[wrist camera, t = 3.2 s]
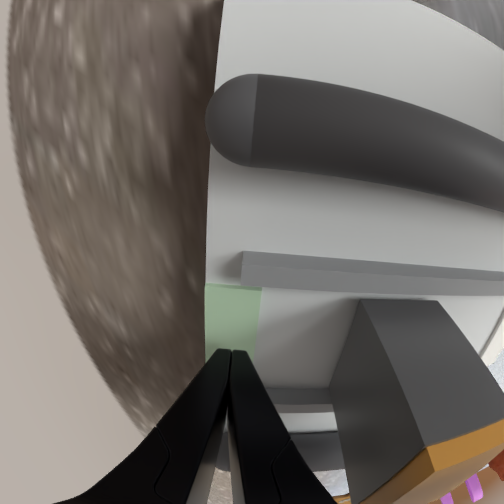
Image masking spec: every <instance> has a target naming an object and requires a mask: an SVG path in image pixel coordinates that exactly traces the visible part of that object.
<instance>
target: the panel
mask: <svg viewBox="0 0 504 504" xmlns="http://www.w3.org/2000/svg"><path fill="white" fill-rule="evenodd" d="M205 127H206V133H207V135H208V138H209V140H210V142H211V145H210V162H209V181H208V205H207V236H206V283H205V363H206V362H207V361H208V360H209V358H210V357H211V356H212V354H213V353H214V352H215V351H216V349H218V348H225V349H231V351H232V350H234V349H236V350H245V351H247V353H248V355H249V357H250V359H251V361H252V363H253V365H254V367H255V369H256V371H257V373H258V375H259V377H260V379H261V381H262V383H263V385H264V387H265V389H266V391H267V392H268V394H269V396H270V398H271V400H272V402H273V404H274V406H275V408H276V410H277V412H278V414H279V416H280V417H281V419H282V421H283V423H284V425H285V427H286V429H287V431H288V432H289V434H290V436H291V440H293V441H294V443H295V445H296V447H297V449H298V450H299V452H300V454H301V455H302V457H303V459H304V460H305V462H306V463H307V465H308V466H309V468H310V469H311V471H312V472H317V471H329V470H338V469H345V465H344V460H343V454H342V449H341V444H340V439H339V434H338V429H337V424H336V419H335V415H334V410H333V405H332V401H331V396H330V391H329V387H328V386H329V383H330V381H331V378H332V376H333V373H334V371H335V368H336V366H337V363H338V361H339V358H340V355H341V353H342V350H343V347H344V344H345V342H346V339H347V336H348V333H349V330H350V327H351V324H352V321H353V318H354V315H355V312H356V309H357V306H358V303H359V300H360V298H361V299H391V300H438V302H439V303H440V304H441V305H442V307H443V308H444V309H445V310H446V312H447V313H448V314H449V316H450V317H451V318H452V319H453V321H454V322H455V323H456V325H457V326H458V327H459V329H460V330H461V331H462V333H463V334H464V335H465V337H466V338H467V339H468V341H469V342H470V343H471V345H472V346H473V348H474V349H475V350H476V352H477V353H478V355H479V356H480V358H481V359H482V361H483V362H484V363H485V365H486V366H487V368H488V366H489V365H491V364H494V362H495V361H496V359H497V358H498V356H499V354H500V353H501V351H502V349H503V348H504V50H502V49H501V48H499V47H498V46H496V45H495V44H493V43H492V42H490V41H489V40H487V39H486V38H484V37H483V36H481V35H479V34H478V33H476V32H474V31H473V30H471V29H469V28H467V27H466V26H464V25H462V24H460V23H458V22H457V21H455V20H453V19H451V18H449V17H447V16H445V15H443V14H441V13H439V12H437V11H435V10H432V9H430V8H428V7H426V6H424V5H421V4H419V3H417V2H414V1H412V0H224V6H223V14H222V22H221V31H220V39H219V49H218V58H217V68H216V79H215V90H214V94H213V95H212V97H211V99H210V100H209V103H208V106H207V108H206V112H205ZM227 409H228V407H227ZM215 467H216V468H218V469H220V470H223V471H229V472H231V471H230V458H229V444H228V429H227V417H226V423H225V427H224V432H223V436H222V440H221V445H220V449H219V453H218V458H217V462H216V466H215Z"/></svg>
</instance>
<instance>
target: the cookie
mask: <svg viewBox="0 0 504 504" xmlns="http://www.w3.org/2000/svg"><path fill="white" fill-rule="evenodd" d="M333 498H334V500H335V501H336V502H337V503H338V504H351V499H350V493H348V494H346V495H340V496H333Z"/></svg>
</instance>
